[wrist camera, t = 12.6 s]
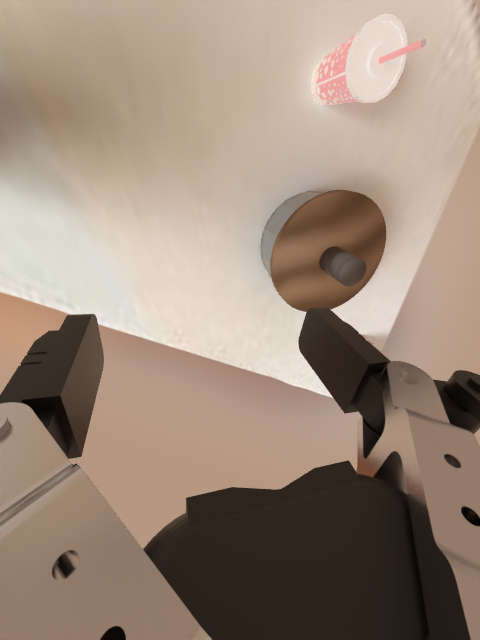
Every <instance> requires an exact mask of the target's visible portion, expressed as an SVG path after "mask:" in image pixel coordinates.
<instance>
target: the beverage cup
mask: <svg viewBox="0 0 480 640" xmlns="http://www.w3.org/2000/svg"><path fill="white" fill-rule="evenodd" d="M425 44H426V40H425V39H422V40H420V41H417V42H415V43H413V44H410V45H408V46H407V35H406V32H405V29H404V26H403V23H402V22H401V21H400V20H399V19H398V18H397V17H396V16H395V15H394V14H380V15H379V16H377V17H375V18H374V19H372V20H370V21H368V22H367V23H366V24H364V25H363V27H362V28H361V29H360V31H359V32H358V33H357V34H356V35H354V36H353V37H352V38H350V39H349V40H348V41H346V42H345V43H343V44H342V45H341V46H339V47H338V48H337V49H335V50H334V51H332V52H331V53H330V54H328V55H327V56H326V57H324V58H323V59H321V60H320V62H319V63H318V64H317V66H316V67H315V69H314V72H313V75H312V81H311V89H312V94H313V97H314V98H315V100H316V102H318V103H319V104H321V105H336V104H343V103H351V102H360V103H375V102H377V101H379V100H381V99H383V98H384V97H386V96H387V95H388V94H389V93H390V92H391V91H392V89H393V88H394V87H395V86H396V85H397V83H398V80H399V78H400V76H401V74H402V72H403V70H404V66H405V61H406V57H407V53H409V52H412V51H414V50H417V49H419V48H422V47H424V46H425Z"/></svg>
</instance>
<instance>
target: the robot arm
mask: <svg viewBox="0 0 480 640" xmlns="http://www.w3.org/2000/svg"><path fill="white" fill-rule="evenodd" d="M299 349H300V352H301V353H302V355H303V356H304V358H305V359H306V360H307V362H308V363H309V365H310V366H311V367H312V369H313V370H314V371H315V373H316V374H317V376H318V377H319V378H320V380H321V381H322V383H323V384H324V385H325V387H326V388H327V390H328V391H329V392H330V394H331V395H332V396H333V398H334V399H335V401H336V402H337V403H338V405H339V406H340V407H341V409H342V410H343V411H344V413H351V412H357V411H359V413H360V414H361V415H360V417H359V419H358V462H357V471H355V470H354V468H353V466H352V465H351V463H350V462H349V461H344V462H340V463H335V464H331V465H327V466H323V467H318V468H314V469H312V470H311V471H309V472H308V473H306V474H305V475H303V476H301V477H300V478H298V479H297V480H295V481H293V482H292V483H290V484H289V485H287V486H285V487H284V488H282V489H278V490H271V489H252V488H235V487H231V488H227V489H223V490H218V491H214V492H210V493H206V494H201V495H197V496H193V497H188V498H186V513H185V514H183V515H181V516H179V517H178V518H176V519H175V520H173V521H172V522H171V523H169V524H168V525H167V526H165V527H164V528H163V529H162V530H161V531H160V532H159V533H158V534H157V535H156V536H155V537H153V538H152V540H151V541H150V542H149V543H148V544H147V545H146V547H145V548H144V549H142V548H141V546H140V545H139V544H138V542H137V541H136V540H135V538H134V537H133V536H132V534H131V533H130V532H129V530H128V529H127V528H126V526H125V525H124V524H123V522H122V521H121V520H120V518H119V517H118V516H117V514H116V513H115V512H114V511H113V509H112V508H111V506H110V505H109V504H108V502H107V501H106V500H105V498H104V497H103V496H102V494H101V493H100V492H99V490H98V489H97V488H96V486H95V485H94V484H93V482H92V481H91V480H90V478H89V477H88V476H87V474H86V473H85V472H84V471H83V469H82V468H81V467H80V466H79V465H78V464H75V465H73V464H72V463H71V462H70V461H69V459H71V458H76V457H81V456H82V452H83V448H84V444H85V439H86V435H87V431H88V427H89V423H90V419H91V415H92V411H93V407H94V403H95V398H96V394H97V390H98V386H99V383H100V379H101V374H102V370H103V363H104V355H103V348H102V343H101V338H100V333H99V328H98V323H97V318H96V316H95V315H94V314H80V315H68V316H67V317H66V319H65V320H64V322H63V324H62V326H61V328H60V329H59V330H58V331H48V332H47V333H46V334H44V335H43V336H41V337H40V338H39V339H37V340H36V341H35V342H34V343H33V345H32V347H31V348H30V350H29V351H28V354H27V355H26V356H25V357H24V359H23V361H22V362H21V366H19V367H18V368H17V370H16V371H15V373H14V375H13V376H12V378H11V379H10V381H9V383H8V384H7V386H6V387H5V389H4V390H3V392H2V393H1V395H0V640H480V446H479V444H478V442H477V440H476V438H475V436H474V434H475V433H476V432H477V430H478V429H479V428H480V375H478V374H475V373H472V372H468V371H463V370H460V371H456V372H454V373H453V375H452V376H451V377H450V379H449V380H448V381H447V382H445V381H439V380H433V379H432V378H431V377H430V376H429V375H428V374H427V373H426V372H424V371H423V370H421V369H420V368H418V367H416V366H414V365H412V364H409V363H405V362H401V361H393V362H391V361H390V360H389V359H388V358H387V357H385V356H384V355H383V354H382V353H381V352H380V351H379V350H378V349H377V348H375V347H374V346H373V345H372V344H371V343H370V342H369V341H368V340H367V341H366V339H365V338H364V337H363V336H362V335H361V334H359V332H357V331H356V330H355V329H354V328H353V327H352V326H351V325H349V324H347V323H346V322H344V321H342V320H341V319H340V318H339V317H338V316H337V315H336V314H335V313H333V312H332V311H331V310H330V309H329V308H310V309H309V310H308V311H307V313H306V316H305V319H304V323H303V326H302V330H301V333H300V337H299Z"/></svg>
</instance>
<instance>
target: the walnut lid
mask: <svg viewBox="0 0 480 640" xmlns="http://www.w3.org/2000/svg"><path fill="white" fill-rule="evenodd" d="M385 242H386V226H385V221H384V217H383V215H382V213H381V210H380V209H379V207H378V206H377V205H376V203H374V202H373V201H372V200H371V199H370V198H368V197H367V196H365V195H363V194H360V193H357V192H352V191H347V190H335V191H329V192H325V193H322V194H320V195H318V196H315V197H313V198H312V199H310V200H308V201H307V202H305V203H304V204H303V205H301V206H300V207H299V208H298V209H297V210H296V211H295V212H294V213H293V214H292V215H291V216H290V217H289V218H288V220H287V221H286V222H285V224H284V225H283V227H282V228H281V230H280V232H279V234H278V236H277V238H276V241H275V243H274V246H273V250H272V254H271V262H270V271H271V278H272V281H273V284H274V286H275V288H276V290H277V292H278V293H279V295H280V296H281V297H282V298H283V299H284V300H285V301H286V303H288V304H289V305H290V306H292V307H293V308H295V309H297V310H301V311H305V312H307V311H308V310H309V309H310V308H329V309H333V308H335V307H338V306H340V305H342V304H343V303H345V302H347V301H348V300H350V299H351V298H352V297H354V296H355V295H356V294H357V293H358V292H359V291H360V290H361V289H362V288H363V287H364V286H365V285H366V284H367V283H368V281H369V280H370V279H371V277H372V276H373V274H374V273H375V271H376V269H377V267H378V265H379V263H380V261H381V258H382V255H383V252H384V248H385Z"/></svg>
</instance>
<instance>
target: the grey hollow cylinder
mask: <svg viewBox="0 0 480 640" xmlns="http://www.w3.org/2000/svg"><path fill="white" fill-rule="evenodd" d="M320 194H322V193H319V192H305V193H301V194H298V195H296V196H293V197H291V198H290V199H288V200H286V201H285V202H284V203H283V204H281V205H280V206H279V207H278V208H277V209H276V210H275V212H274V213H273V214H272V216H271V217H270V219H269V220H268V222H267V224H266V226H265V229H264V232H263V235H262V240H261V256H262V260H263V264H264V266H265V268H266V270H267V271H268V274H269V276H270V277H271V271H270V262H271V254H272V250H273V246H274V243H275V241H276V238H277V236H278V234H279V232H280V230H281V228H282V227H283V225H284V224H285V222H286V221H287V220H288V218H289V217H290V216H291V215H292V214H293V213H294V212H295V211H296V210H297V209H298V208H299V207H300V206H301V205H303V204H304V203H305V202H307V201H308V200H310V199H312V198H313V197H315V196H318V195H320Z"/></svg>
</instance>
